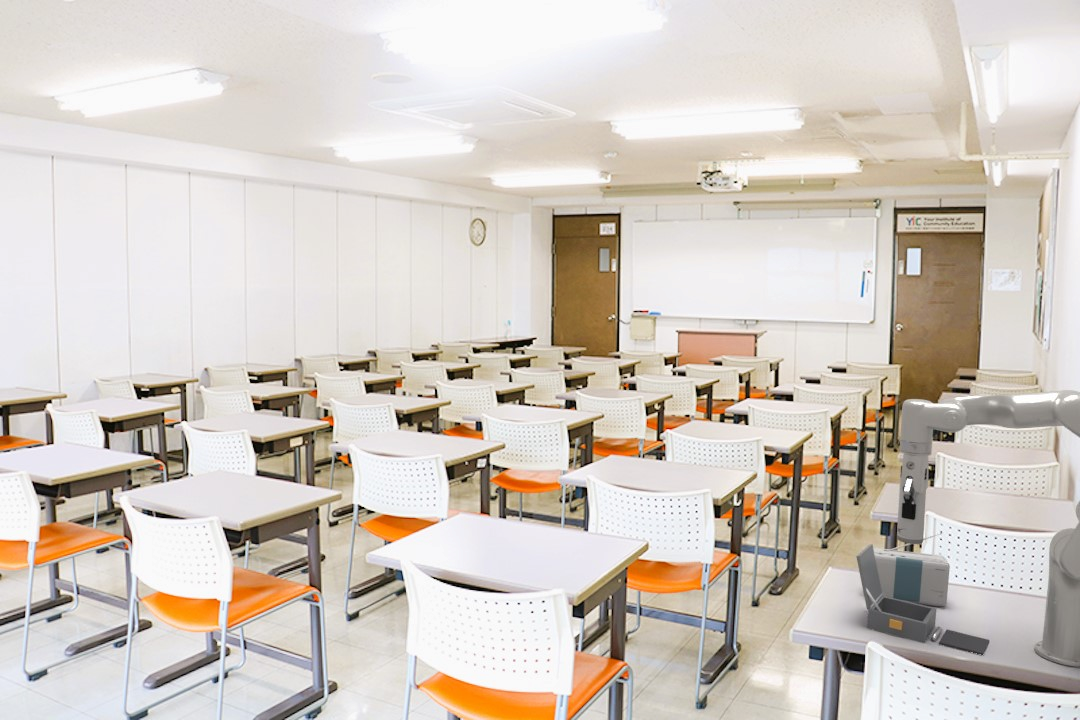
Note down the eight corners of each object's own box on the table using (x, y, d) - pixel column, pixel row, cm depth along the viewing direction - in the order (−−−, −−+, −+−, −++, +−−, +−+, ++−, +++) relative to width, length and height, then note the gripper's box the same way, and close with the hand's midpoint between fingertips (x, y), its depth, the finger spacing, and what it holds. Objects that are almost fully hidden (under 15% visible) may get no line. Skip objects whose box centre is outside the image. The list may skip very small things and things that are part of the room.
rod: (942, 631, 221) (942, 626, 221) (935, 642, 214) (936, 637, 214) (937, 629, 221) (937, 625, 221) (930, 640, 214) (930, 636, 214)
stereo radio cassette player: (866, 599, 242) (871, 531, 240) (864, 589, 249) (869, 523, 247) (946, 610, 236) (952, 540, 234) (941, 599, 243) (947, 531, 241)
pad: (989, 642, 215) (989, 639, 215) (983, 655, 207) (983, 653, 207) (946, 631, 221) (946, 629, 220) (938, 644, 212) (938, 642, 212)
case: (935, 626, 224) (940, 558, 222) (924, 643, 212) (929, 571, 211) (864, 609, 234) (869, 543, 232) (850, 624, 223) (855, 556, 221)
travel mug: (895, 542, 218) (899, 466, 216) (897, 535, 224) (901, 461, 222) (922, 546, 215) (926, 468, 213) (923, 539, 221) (928, 463, 219)
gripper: (924, 454, 208) (919, 525, 210) (938, 444, 222) (933, 511, 224) (892, 450, 213) (887, 520, 214) (907, 440, 227) (903, 506, 228)
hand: (911, 515), depth 219 cm, fingers closed on travel mug, 6 cm apart
